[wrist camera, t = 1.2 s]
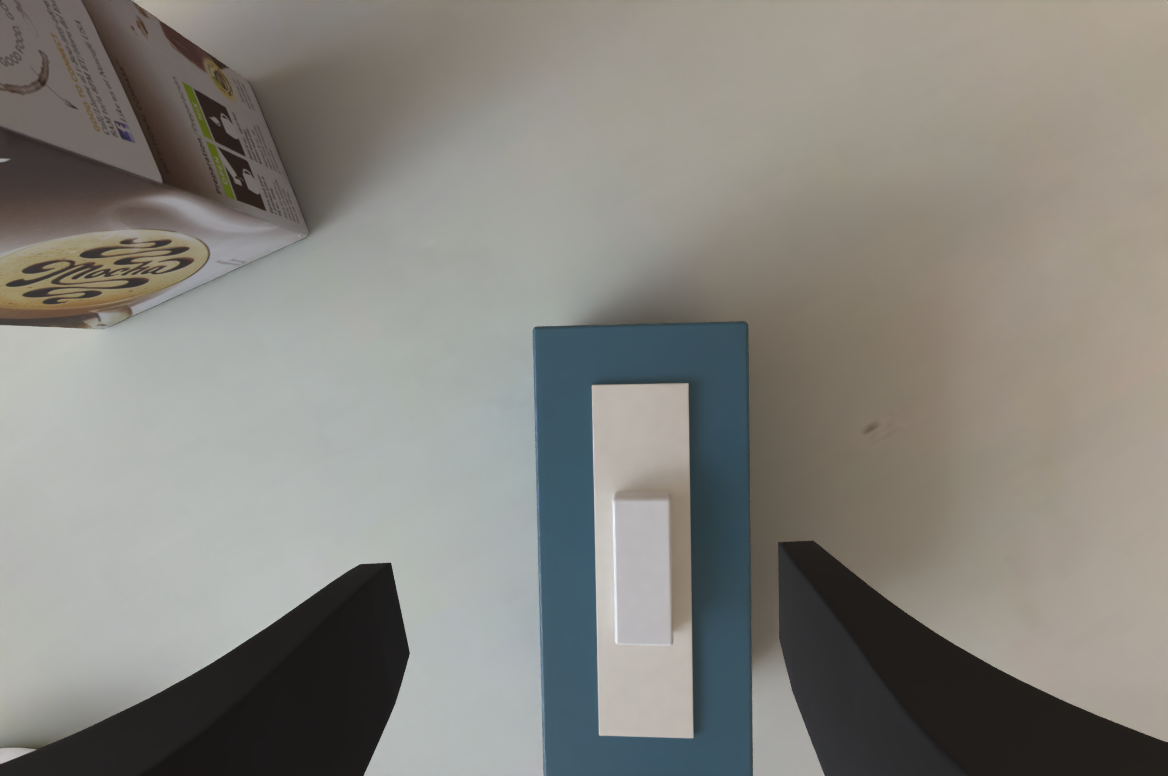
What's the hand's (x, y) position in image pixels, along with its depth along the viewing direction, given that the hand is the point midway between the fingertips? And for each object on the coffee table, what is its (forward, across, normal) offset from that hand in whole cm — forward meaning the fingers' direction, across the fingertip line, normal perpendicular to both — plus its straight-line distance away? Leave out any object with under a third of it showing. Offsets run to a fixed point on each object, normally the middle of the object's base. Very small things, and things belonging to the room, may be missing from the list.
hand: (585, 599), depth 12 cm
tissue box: (+10, -1, +4) cm, 11 cm away
